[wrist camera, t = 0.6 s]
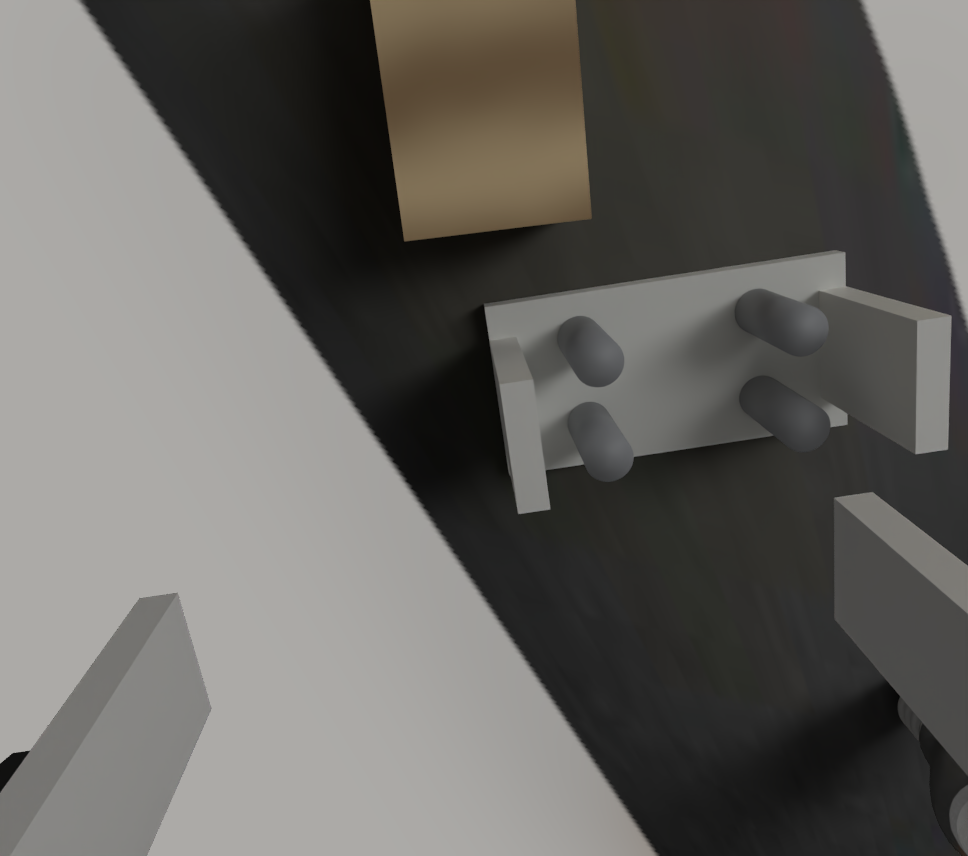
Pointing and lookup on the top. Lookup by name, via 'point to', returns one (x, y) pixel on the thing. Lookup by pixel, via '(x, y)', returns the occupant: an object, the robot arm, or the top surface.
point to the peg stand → (711, 367)
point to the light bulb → (942, 782)
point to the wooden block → (483, 113)
